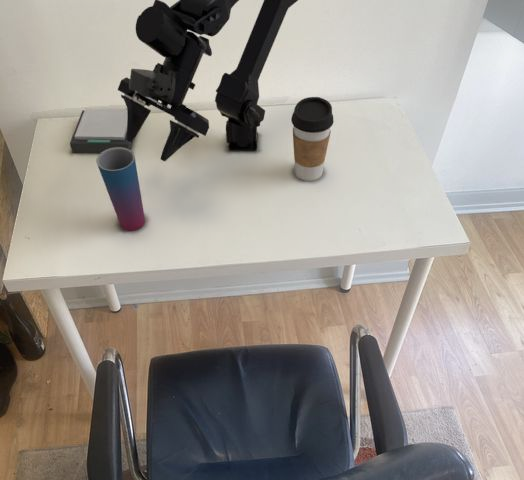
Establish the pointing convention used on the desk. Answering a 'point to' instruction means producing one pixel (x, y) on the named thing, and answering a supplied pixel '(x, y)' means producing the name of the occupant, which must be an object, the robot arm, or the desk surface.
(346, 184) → the desk surface
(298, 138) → the coffee cup
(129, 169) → the cup
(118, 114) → the scale
